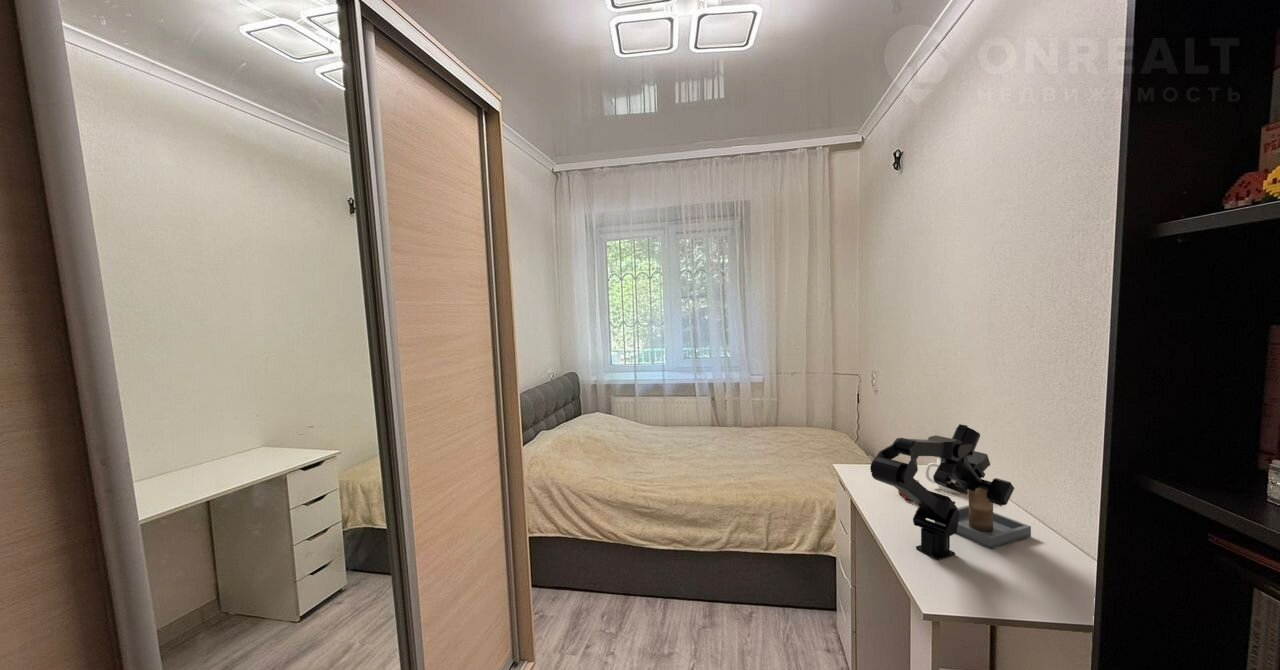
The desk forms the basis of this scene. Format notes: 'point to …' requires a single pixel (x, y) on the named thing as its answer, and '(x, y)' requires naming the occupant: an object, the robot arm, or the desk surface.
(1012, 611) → the desk surface
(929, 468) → the cup
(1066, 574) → the desk surface
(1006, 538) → the tray
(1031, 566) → the desk surface
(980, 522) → the wooden cylinder
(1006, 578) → the desk surface
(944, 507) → the robot arm
